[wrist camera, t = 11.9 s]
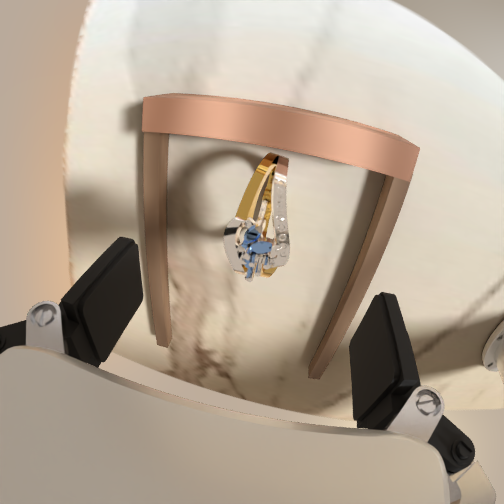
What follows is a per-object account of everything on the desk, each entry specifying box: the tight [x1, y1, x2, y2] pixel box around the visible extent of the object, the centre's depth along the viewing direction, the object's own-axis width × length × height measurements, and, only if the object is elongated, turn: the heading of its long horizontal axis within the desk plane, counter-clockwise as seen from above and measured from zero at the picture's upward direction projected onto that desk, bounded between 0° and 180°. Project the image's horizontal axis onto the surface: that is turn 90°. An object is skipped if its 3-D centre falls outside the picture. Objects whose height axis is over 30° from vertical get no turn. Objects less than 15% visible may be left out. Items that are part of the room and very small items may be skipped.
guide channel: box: [142, 93, 420, 379], centre depth 21 cm, size 17×24×4 cm
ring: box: [224, 153, 290, 282], centre depth 16 cm, size 7×3×8 cm, turn 165°
